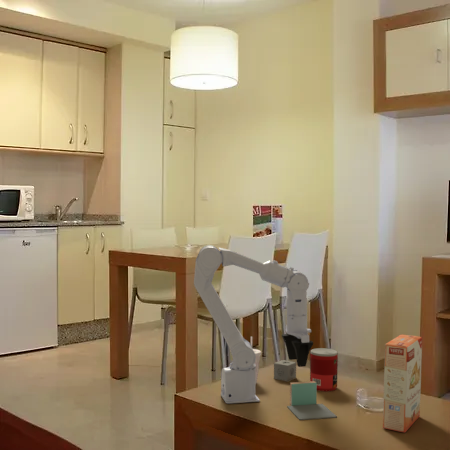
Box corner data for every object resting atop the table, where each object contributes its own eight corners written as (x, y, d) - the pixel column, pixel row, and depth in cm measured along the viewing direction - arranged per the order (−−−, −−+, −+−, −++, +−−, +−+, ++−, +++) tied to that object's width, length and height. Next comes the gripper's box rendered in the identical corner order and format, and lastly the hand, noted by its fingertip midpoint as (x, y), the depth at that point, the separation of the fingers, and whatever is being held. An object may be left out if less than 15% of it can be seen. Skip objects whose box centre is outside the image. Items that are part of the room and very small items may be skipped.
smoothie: (263, 380, 184) (263, 335, 184) (257, 386, 178) (258, 340, 178) (243, 378, 186) (244, 334, 186) (237, 384, 180) (237, 338, 180)
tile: (291, 406, 161) (292, 384, 161) (289, 404, 163) (290, 382, 163) (316, 404, 163) (316, 382, 163) (314, 402, 164) (314, 381, 164)
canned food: (339, 392, 174) (339, 354, 174) (311, 391, 174) (312, 354, 174) (335, 384, 182) (335, 348, 181) (308, 383, 182) (308, 347, 181)
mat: (299, 420, 151) (299, 419, 151) (287, 407, 160) (287, 406, 160) (336, 417, 153) (336, 416, 153) (322, 404, 163) (322, 403, 163)
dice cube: (296, 378, 188) (296, 362, 188) (287, 381, 184) (287, 365, 184) (282, 375, 191) (282, 359, 191) (273, 378, 187) (273, 363, 187)
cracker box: (407, 434, 142) (408, 346, 141) (381, 429, 145) (383, 343, 144) (421, 416, 154) (423, 335, 153) (398, 412, 157) (399, 333, 156)
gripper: (319, 318, 161) (320, 368, 162) (301, 309, 175) (302, 355, 176) (294, 319, 160) (295, 370, 160) (278, 310, 174) (279, 357, 174)
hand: (297, 362), depth 168 cm, fingers open, 7 cm apart
